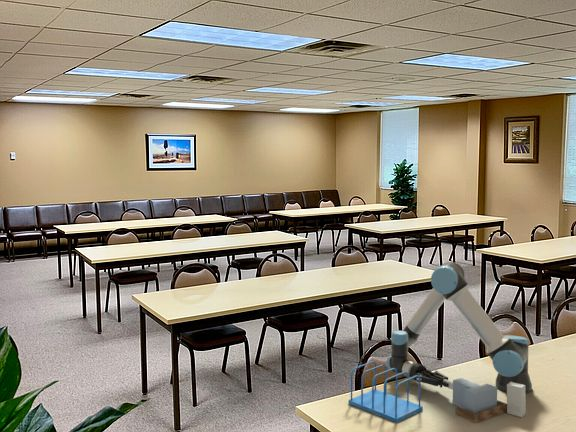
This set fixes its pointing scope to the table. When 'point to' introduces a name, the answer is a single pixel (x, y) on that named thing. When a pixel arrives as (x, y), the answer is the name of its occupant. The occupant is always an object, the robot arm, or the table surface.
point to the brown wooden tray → (482, 415)
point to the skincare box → (516, 399)
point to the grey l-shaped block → (474, 395)
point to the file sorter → (386, 398)
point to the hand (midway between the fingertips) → (456, 387)
